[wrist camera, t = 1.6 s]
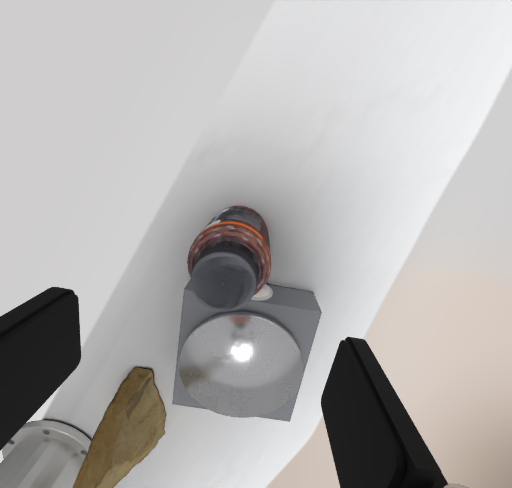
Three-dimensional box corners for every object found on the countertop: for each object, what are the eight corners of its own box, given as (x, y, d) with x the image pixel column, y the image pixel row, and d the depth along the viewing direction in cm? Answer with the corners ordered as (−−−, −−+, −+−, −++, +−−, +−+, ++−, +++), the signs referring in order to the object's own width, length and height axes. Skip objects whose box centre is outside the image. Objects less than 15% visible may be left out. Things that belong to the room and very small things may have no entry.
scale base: (286, 390, 31) (289, 421, 28) (183, 374, 31) (172, 404, 27) (314, 288, 27) (322, 307, 23) (195, 268, 27) (184, 284, 23)
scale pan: (287, 417, 27) (288, 425, 26) (176, 401, 26) (173, 408, 26) (314, 322, 23) (316, 328, 23) (187, 301, 23) (184, 306, 22)
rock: (105, 362, 28) (66, 430, 29) (119, 439, 22) (68, 520, 23) (186, 360, 35) (153, 413, 37) (213, 416, 29) (172, 478, 31)
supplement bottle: (206, 207, 25) (164, 237, 14) (266, 202, 25) (270, 229, 14) (213, 263, 27) (181, 328, 16) (269, 259, 26) (276, 323, 16)
